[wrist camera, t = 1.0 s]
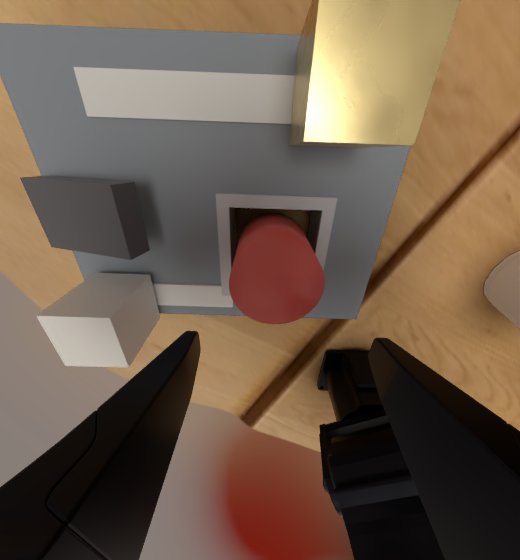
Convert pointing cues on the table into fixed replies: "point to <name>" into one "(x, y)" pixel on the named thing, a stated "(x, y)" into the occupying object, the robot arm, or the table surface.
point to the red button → (275, 271)
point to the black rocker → (89, 215)
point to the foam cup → (505, 288)
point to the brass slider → (367, 71)
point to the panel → (197, 152)
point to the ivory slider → (102, 320)
